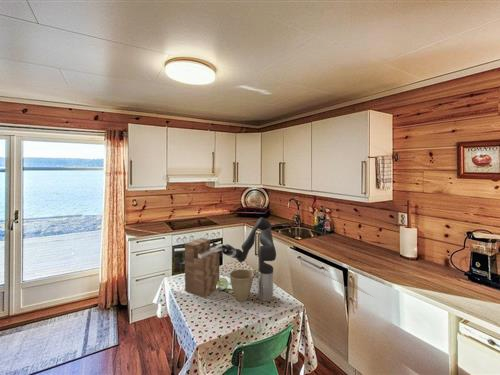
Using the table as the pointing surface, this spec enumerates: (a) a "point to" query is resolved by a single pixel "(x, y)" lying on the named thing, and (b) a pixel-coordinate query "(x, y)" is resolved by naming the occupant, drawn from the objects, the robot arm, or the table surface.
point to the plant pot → (241, 283)
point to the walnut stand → (200, 268)
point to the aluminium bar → (210, 251)
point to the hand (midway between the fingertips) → (217, 245)
